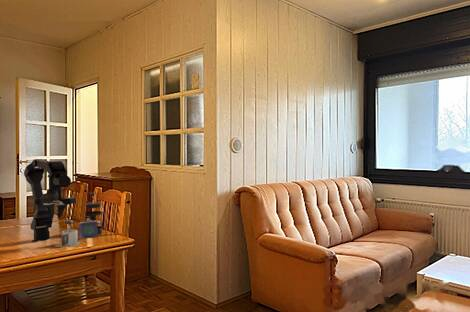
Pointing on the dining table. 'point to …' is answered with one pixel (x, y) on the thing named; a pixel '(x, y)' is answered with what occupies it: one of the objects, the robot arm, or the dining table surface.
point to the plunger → (69, 224)
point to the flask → (88, 229)
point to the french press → (95, 213)
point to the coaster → (68, 246)
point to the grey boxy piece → (69, 237)
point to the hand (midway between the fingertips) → (55, 218)
